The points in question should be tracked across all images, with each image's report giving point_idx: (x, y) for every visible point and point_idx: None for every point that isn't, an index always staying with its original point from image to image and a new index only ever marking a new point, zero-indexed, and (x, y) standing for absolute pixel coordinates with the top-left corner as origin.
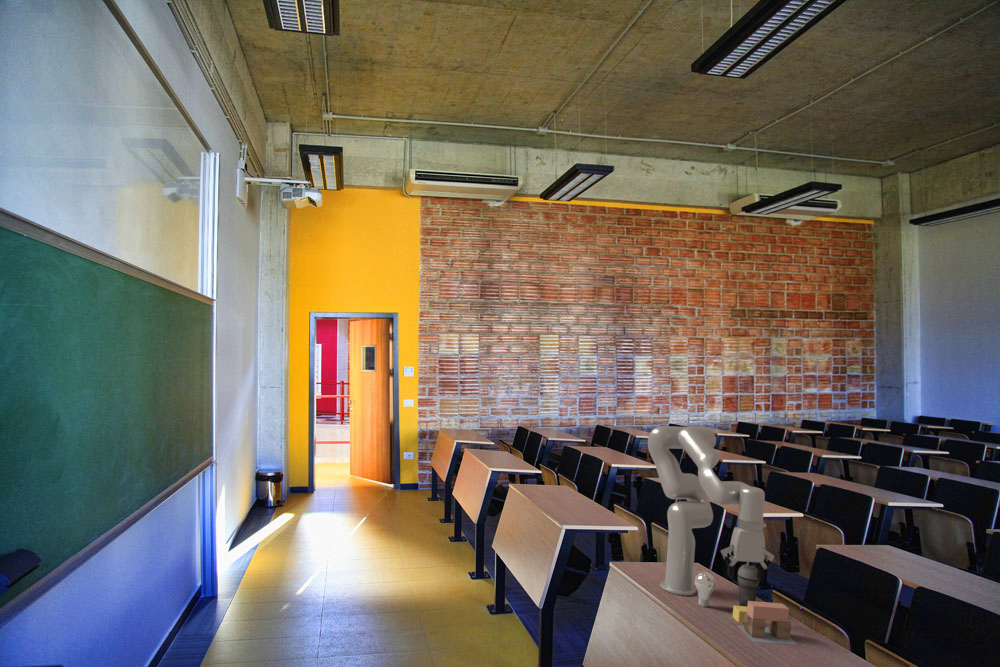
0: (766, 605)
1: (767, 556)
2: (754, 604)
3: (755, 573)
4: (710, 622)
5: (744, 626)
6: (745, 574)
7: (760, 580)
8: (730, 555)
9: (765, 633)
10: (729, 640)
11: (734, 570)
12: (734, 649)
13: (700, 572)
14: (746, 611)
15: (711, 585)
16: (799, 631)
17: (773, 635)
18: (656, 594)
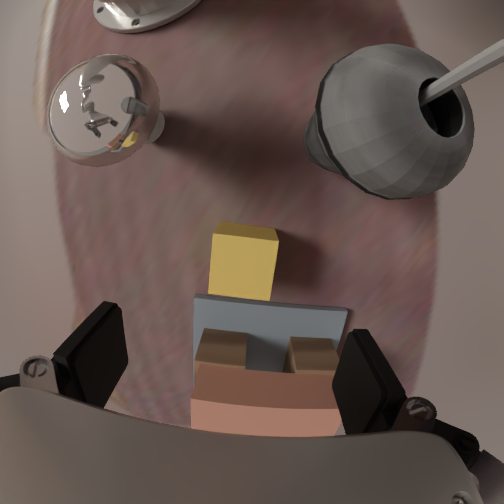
0: (253, 429)
1: (477, 482)
2: (202, 423)
3: (429, 189)
4: (123, 255)
5: (202, 336)
6: (352, 159)
7: (334, 378)
8: (16, 396)
9: (266, 349)
10: (139, 361)
11: (102, 404)
12: (136, 394)
13: (54, 92)
14: (241, 295)
15: (105, 164)
16: (407, 303)
17: (285, 359)
18: (57, 54)
